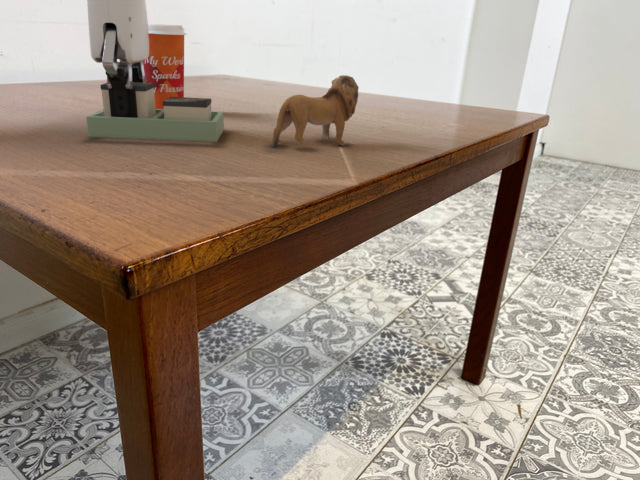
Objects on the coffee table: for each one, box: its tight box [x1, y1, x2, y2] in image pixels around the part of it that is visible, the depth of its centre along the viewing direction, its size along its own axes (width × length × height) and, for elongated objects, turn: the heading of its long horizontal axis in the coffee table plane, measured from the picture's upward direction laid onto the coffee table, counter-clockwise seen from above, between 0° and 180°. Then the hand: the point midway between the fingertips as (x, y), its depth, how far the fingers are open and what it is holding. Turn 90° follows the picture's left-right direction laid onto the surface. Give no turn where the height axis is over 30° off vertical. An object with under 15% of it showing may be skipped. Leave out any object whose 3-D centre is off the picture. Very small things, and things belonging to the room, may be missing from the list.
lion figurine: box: [271, 74, 360, 148], centre depth 69 cm, size 15×5×9 cm, turn 134°
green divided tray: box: [85, 108, 225, 143], centre depth 70 cm, size 8×16×3 cm, turn 93°
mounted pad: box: [163, 96, 212, 121], centre depth 70 cm, size 6×4×4 cm
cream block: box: [100, 82, 156, 118], centre depth 69 cm, size 6×4×4 cm
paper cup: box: [143, 23, 188, 109], centre depth 84 cm, size 8×8×14 cm
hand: (130, 115), depth 69 cm, fingers closed on cream block, 4 cm apart
